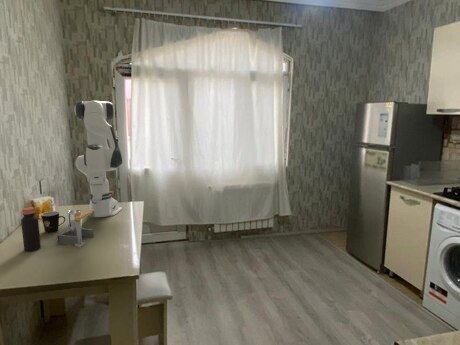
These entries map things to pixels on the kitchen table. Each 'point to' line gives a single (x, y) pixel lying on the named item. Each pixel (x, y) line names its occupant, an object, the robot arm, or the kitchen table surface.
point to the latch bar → (91, 213)
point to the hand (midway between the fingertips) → (98, 203)
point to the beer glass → (73, 221)
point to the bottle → (30, 230)
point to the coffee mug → (51, 221)
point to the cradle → (75, 240)
